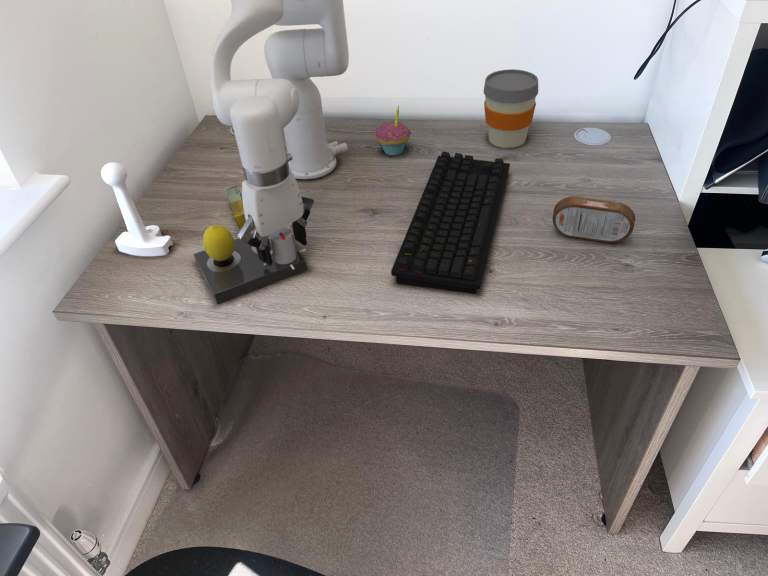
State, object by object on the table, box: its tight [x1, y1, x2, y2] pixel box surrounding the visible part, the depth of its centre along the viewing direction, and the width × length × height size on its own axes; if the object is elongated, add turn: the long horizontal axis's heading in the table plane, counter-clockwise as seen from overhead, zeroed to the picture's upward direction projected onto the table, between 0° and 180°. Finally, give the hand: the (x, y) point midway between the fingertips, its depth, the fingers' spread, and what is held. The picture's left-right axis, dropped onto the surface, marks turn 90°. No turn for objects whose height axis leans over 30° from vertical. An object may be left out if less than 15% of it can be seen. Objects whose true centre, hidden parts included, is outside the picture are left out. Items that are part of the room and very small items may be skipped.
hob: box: [193, 232, 308, 305], centre depth 119 cm, size 19×15×3 cm
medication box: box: [226, 185, 246, 231], centre depth 132 cm, size 12×3×4 cm, turn 19°
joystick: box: [100, 161, 174, 257], centre depth 121 cm, size 11×8×20 cm
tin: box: [552, 195, 636, 244], centre depth 118 cm, size 15×3×8 cm, turn 71°
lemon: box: [202, 224, 235, 261], centre depth 116 cm, size 6×6×8 cm
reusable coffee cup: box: [483, 68, 539, 149], centre depth 147 cm, size 12×13×15 cm
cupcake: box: [374, 105, 412, 156], centre depth 147 cm, size 9×8×12 cm
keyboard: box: [390, 151, 511, 295], centre depth 125 cm, size 42×16×5 cm, turn 165°
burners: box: [207, 237, 272, 272], centre depth 120 cm, size 15×6×1 cm, turn 118°
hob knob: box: [269, 226, 297, 264], centre depth 116 cm, size 4×4×6 cm
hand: (284, 251), depth 117 cm, fingers open, 7 cm apart
